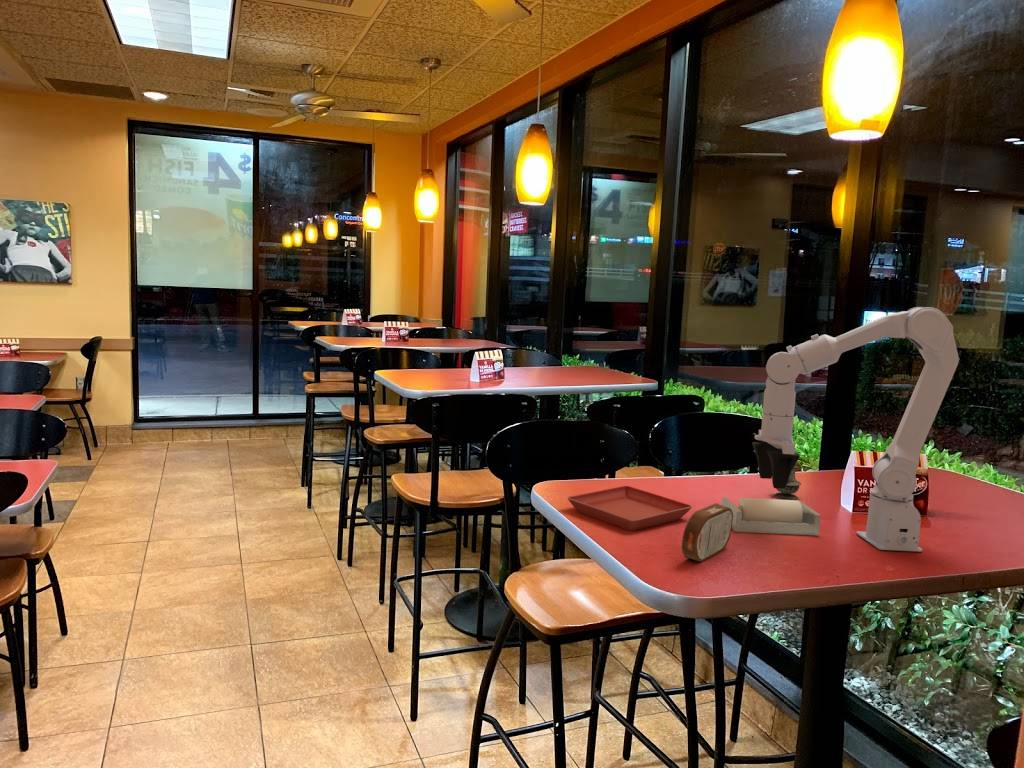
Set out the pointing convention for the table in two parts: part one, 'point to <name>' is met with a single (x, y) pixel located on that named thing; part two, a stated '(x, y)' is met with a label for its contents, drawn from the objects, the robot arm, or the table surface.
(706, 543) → the tin
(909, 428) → the robot arm
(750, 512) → the roll
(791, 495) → the rusty metal finial
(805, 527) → the cradle
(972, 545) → the table surface
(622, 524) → the plant saucer
